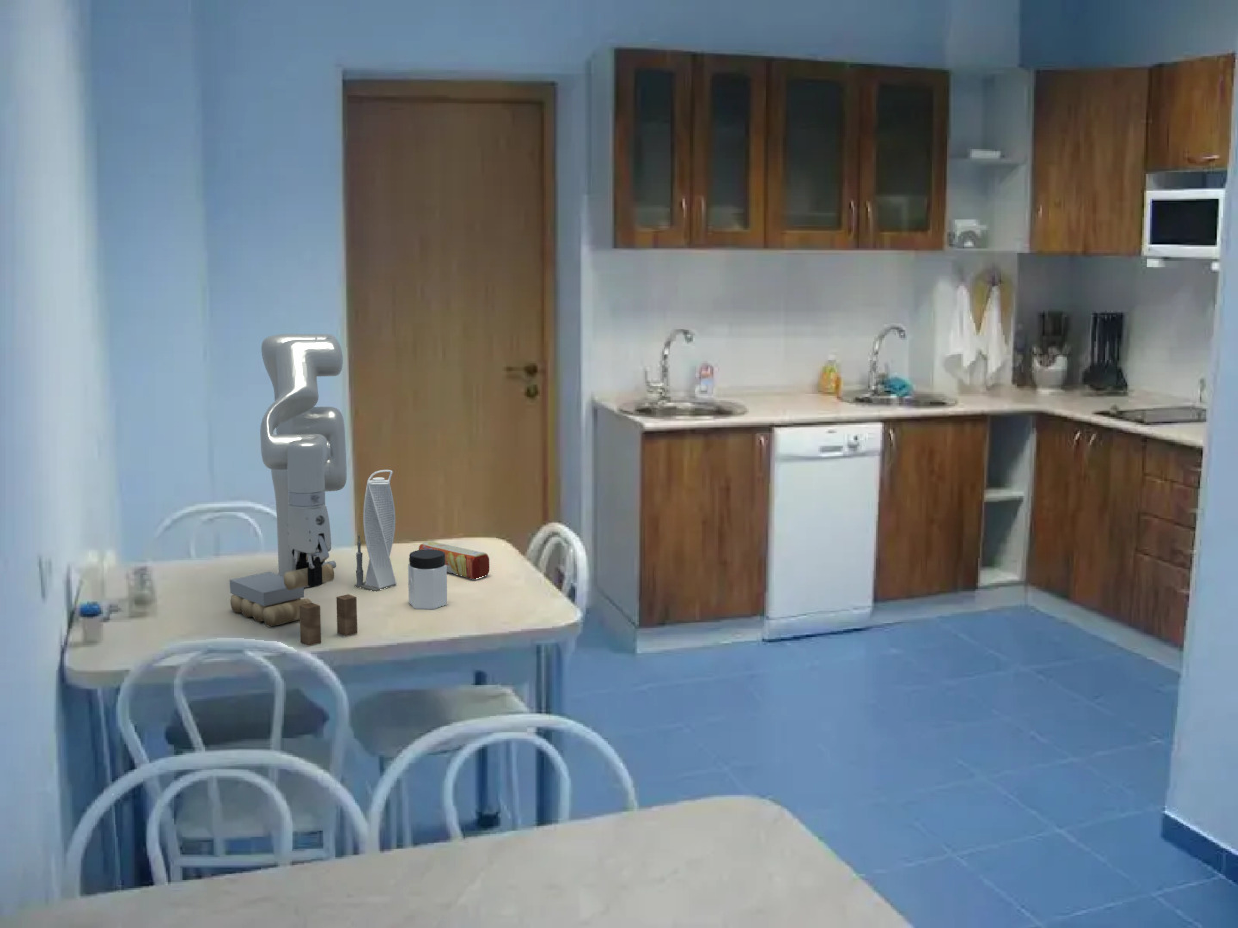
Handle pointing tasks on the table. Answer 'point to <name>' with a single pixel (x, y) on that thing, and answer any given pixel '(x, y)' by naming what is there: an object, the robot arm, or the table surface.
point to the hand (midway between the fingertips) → (309, 582)
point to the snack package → (461, 560)
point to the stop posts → (312, 621)
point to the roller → (306, 577)
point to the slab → (264, 589)
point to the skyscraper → (377, 535)
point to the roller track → (269, 610)
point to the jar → (427, 579)
